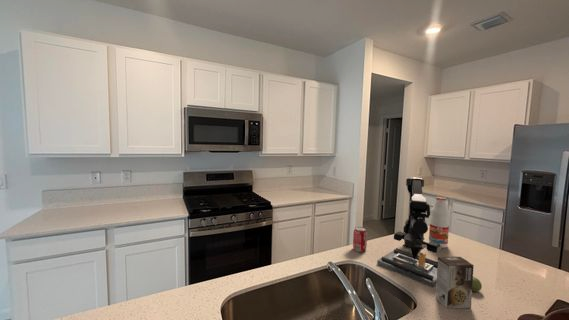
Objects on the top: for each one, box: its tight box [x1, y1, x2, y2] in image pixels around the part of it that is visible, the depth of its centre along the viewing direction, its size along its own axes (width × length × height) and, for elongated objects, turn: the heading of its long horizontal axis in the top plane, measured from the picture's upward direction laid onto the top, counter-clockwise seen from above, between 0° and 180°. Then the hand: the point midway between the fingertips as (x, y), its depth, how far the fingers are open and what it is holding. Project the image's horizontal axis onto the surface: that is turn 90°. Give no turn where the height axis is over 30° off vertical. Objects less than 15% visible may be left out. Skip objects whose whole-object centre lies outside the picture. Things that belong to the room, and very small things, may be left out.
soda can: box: [352, 226, 368, 253], centre depth 129 cm, size 7×7×12 cm
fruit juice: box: [428, 196, 450, 249], centre depth 138 cm, size 9×9×28 cm
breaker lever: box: [416, 252, 428, 268], centre depth 109 cm, size 3×4×6 cm
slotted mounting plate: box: [380, 247, 438, 280], centre depth 112 cm, size 22×17×1 cm
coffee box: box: [435, 256, 474, 309], centre depth 87 cm, size 9×6×16 cm
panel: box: [376, 249, 437, 288], centre depth 112 cm, size 20×24×3 cm
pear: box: [472, 276, 483, 293], centre depth 98 cm, size 6×5×10 cm
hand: (414, 259), depth 111 cm, fingers closed
